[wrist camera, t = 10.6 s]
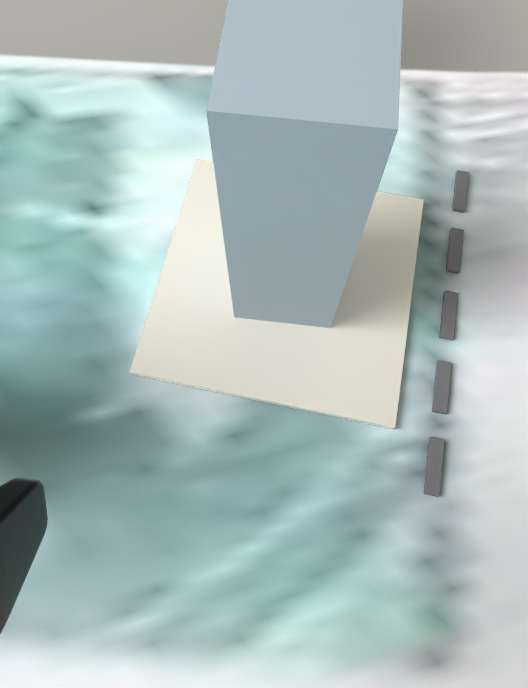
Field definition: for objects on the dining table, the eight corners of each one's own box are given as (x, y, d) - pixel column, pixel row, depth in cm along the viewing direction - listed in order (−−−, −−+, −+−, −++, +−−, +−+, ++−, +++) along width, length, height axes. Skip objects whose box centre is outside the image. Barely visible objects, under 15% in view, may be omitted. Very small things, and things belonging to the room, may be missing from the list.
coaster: (421, 203, 26) (423, 199, 26) (393, 429, 22) (395, 427, 22) (197, 164, 27) (196, 159, 27) (131, 374, 23) (129, 372, 23)
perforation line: (456, 172, 27) (457, 170, 27) (467, 174, 27) (468, 172, 27) (423, 493, 21) (425, 493, 21) (437, 496, 21) (439, 496, 21)
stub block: (330, 328, 24) (397, 129, 12) (234, 317, 24) (206, 111, 12) (337, 244, 25) (402, -7, 13) (246, 234, 25) (233, -22, 13)
